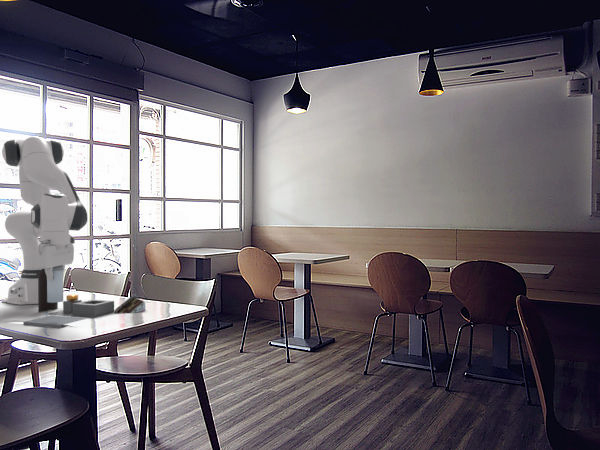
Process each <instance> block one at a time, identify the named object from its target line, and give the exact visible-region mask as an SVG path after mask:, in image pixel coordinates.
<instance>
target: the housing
mask: <svg viewBox="0 0 600 450" xmlns="http://www.w3.org/2000/svg"><path fill="white" fill-rule="evenodd" d="M62 304H63V305H62V310H58V311H54V312H49V313H46V315H49V316H51V315H52V316H64V317H75V318H87V319H97V318H100V317H105V316H108V315H112V314H115V313H114V311H115V301H114V300H104V299H90V300H82V299H78V300H75V301H73V302H70V300H67V299H66V300H63V301H62Z"/></svg>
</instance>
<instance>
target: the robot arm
mask: <svg viewBox="0 0 600 450" xmlns="http://www.w3.org/2000/svg"><path fill="white" fill-rule="evenodd" d="M64 151H65V150H64V148H63V145H62V144H61V142H60V140H57V139H53V138H50V139H46V138H43V137H40V136H30V137H27V138H26V139H17V140H15V139H12V140H11V139H10V140H7V141H5V142H4V144H3V147H2V149H1V153H2V158H3V159H4V160H3V161H5V163H6V164H7V165H8V166H10V167H16V168H17V167H19V170H18V176H19V177H18V178H19V189H20V190H19V191H20V198H21V199H22V200H23V202H25V203H26V204H29V205H31V206H32V208H31V211H18V212H12V213H10V214H8V216H7V217H6V218H5V222H4V228H5V230H6V232H7V234H9V235H10V236H12V238H14V239H15V240H16V241H17V243H18V244H19V246H20V248H21V249H22V257H23V269H22V270H19V271H18V272H19V273H18V274H19V275H20V274H21V275H20V278H19V279H17V281H16V282H15V283H14V284H12V285H11V286H10V287H9V288H8V293H7V297H6V298H3V299H1V302H2V303H6V302H7V303H6V304H13V305H32V304H33V305H36V304H37V305H38V273H39V272H40V271H41V270H42V269H45V273H46V275H47V281H52V280H54V275H53V273H52V271H53V267H57V266H63V267H64V269H63V273H64V272H65V270H66V266H67V265H72V264H73V262H74V256H75V247H74V244H75V242H76V241H75V240H76V239H75V237H74V236H72V235H71V234H70V231H80V230H81V229H82V228H84V227H85V226H86V225H87V223H88V211H87V209H86V207H85V206H84V204H83V203H82V202H81V199H80V198H79V196H78V193H77V191H76V189H75V187H74V185H73V183H72V181H71V179H70V176H69V175H68V174H67V172H65V171H64V170H62V168H60V167H59V166H58V165H59V164H61V162H63V159H64V154H65V153H64ZM50 188H52V189H53V190H55V191H58V192H51V189H50ZM39 238H40V239H39Z"/></svg>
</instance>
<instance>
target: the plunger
mask: <svg viewBox="0 0 600 450" xmlns="http://www.w3.org/2000/svg"><path fill="white" fill-rule="evenodd" d="M67 300H70V302H73V301H75V300H79V295H78V294H69V295H67V294H66V301H67Z"/></svg>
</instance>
